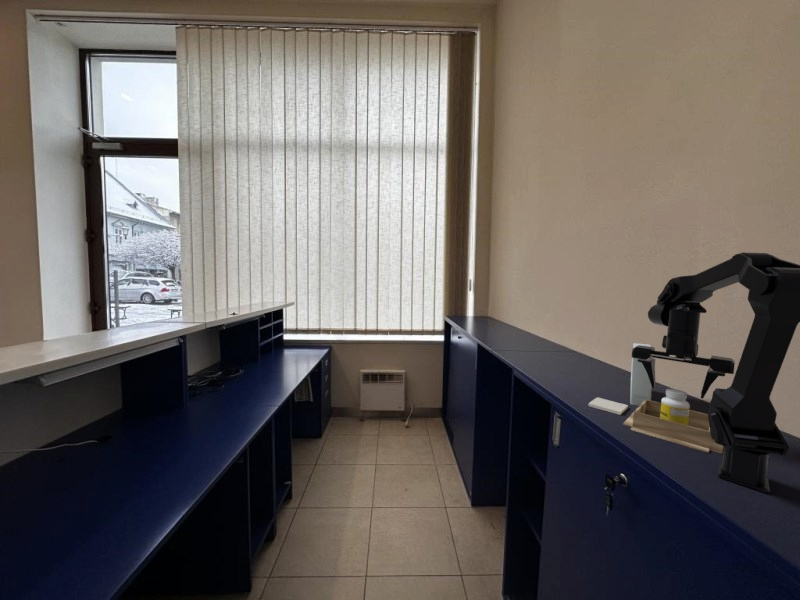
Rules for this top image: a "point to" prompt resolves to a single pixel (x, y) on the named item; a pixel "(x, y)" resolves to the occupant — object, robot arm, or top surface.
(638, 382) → the skincare box
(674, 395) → the supplement bottle
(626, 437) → the top surface
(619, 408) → the tile
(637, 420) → the light brown piece
